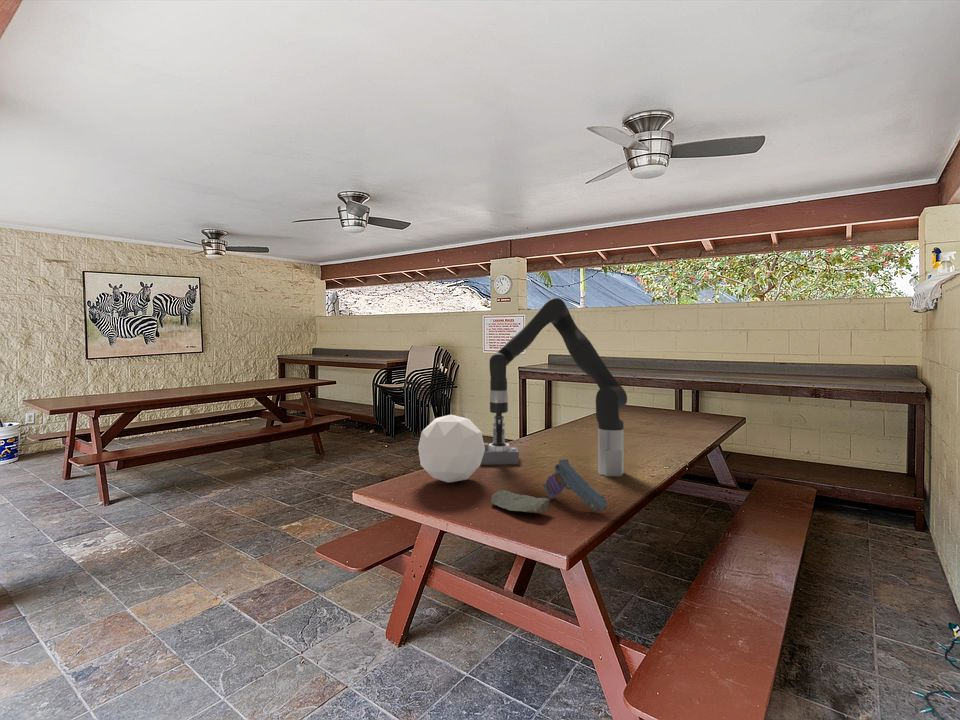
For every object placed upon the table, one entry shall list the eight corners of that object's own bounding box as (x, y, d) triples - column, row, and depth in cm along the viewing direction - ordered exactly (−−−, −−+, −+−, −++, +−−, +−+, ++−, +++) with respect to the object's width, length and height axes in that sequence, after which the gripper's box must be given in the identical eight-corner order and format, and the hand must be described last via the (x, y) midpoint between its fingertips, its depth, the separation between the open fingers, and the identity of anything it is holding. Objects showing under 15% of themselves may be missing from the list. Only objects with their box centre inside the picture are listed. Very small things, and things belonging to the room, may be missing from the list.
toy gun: (545, 486, 166) (564, 453, 160) (590, 534, 154) (612, 500, 147) (539, 488, 164) (558, 454, 158) (583, 537, 151) (605, 502, 145)
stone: (481, 501, 158) (501, 487, 165) (484, 512, 158) (504, 497, 165) (534, 511, 143) (553, 494, 150) (537, 522, 143) (556, 505, 150)
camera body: (518, 466, 203) (518, 446, 203) (479, 466, 204) (479, 446, 203) (517, 460, 214) (517, 440, 214) (480, 460, 214) (480, 441, 214)
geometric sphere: (453, 469, 199) (452, 407, 198) (498, 482, 181) (498, 414, 180) (404, 482, 182) (403, 414, 181) (449, 497, 165) (448, 422, 163)
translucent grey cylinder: (505, 448, 206) (504, 423, 205) (493, 448, 206) (493, 423, 205) (504, 445, 211) (504, 421, 210) (493, 445, 211) (492, 421, 210)
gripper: (508, 403, 200) (508, 444, 201) (507, 398, 215) (507, 437, 215) (489, 403, 200) (490, 445, 201) (489, 398, 215) (490, 437, 215)
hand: (499, 441), depth 208 cm, fingers closed on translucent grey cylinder, 5 cm apart
